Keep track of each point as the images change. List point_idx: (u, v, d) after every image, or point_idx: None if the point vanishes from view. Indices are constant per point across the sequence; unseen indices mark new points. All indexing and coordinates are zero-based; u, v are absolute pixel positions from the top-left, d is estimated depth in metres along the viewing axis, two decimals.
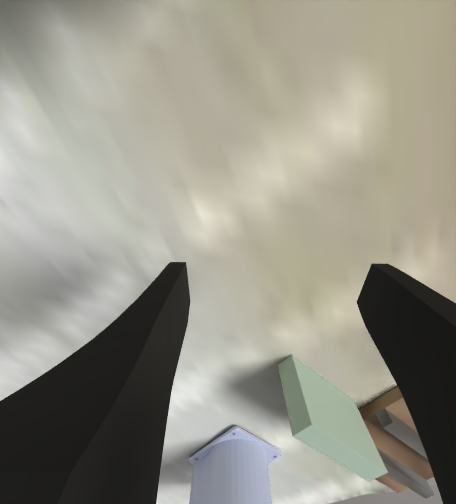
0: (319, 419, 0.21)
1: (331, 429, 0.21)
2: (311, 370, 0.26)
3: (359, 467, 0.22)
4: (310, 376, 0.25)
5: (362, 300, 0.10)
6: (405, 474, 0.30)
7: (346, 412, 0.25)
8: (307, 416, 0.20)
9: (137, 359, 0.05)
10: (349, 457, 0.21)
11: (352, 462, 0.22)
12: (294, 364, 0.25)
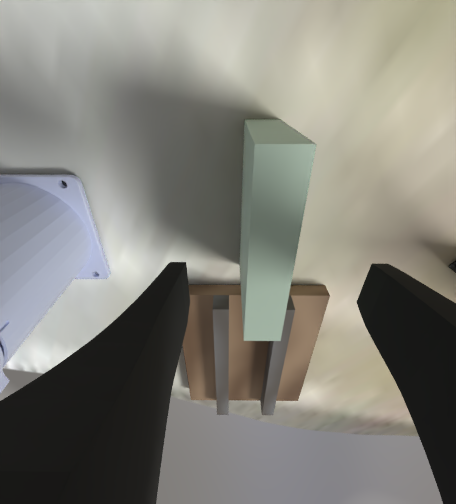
0: None
1: None
2: None
3: (262, 308, 0.12)
4: None
5: (362, 300, 0.10)
6: (228, 381, 0.24)
7: None
8: (306, 140, 0.09)
9: (137, 359, 0.05)
10: (273, 279, 0.11)
11: (265, 292, 0.12)
12: (283, 123, 0.13)
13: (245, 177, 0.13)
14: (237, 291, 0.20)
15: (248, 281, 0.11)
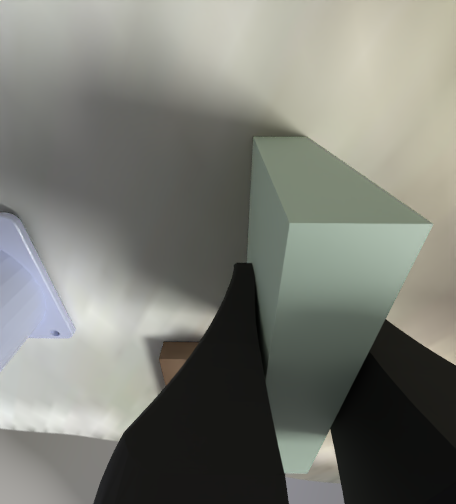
0: None
1: None
2: None
3: (283, 444, 0.08)
4: None
5: None
6: None
7: None
8: (396, 205, 0.04)
9: (261, 360, 0.05)
10: (304, 416, 0.07)
11: (290, 428, 0.07)
12: None
13: (255, 230, 0.08)
14: None
15: None
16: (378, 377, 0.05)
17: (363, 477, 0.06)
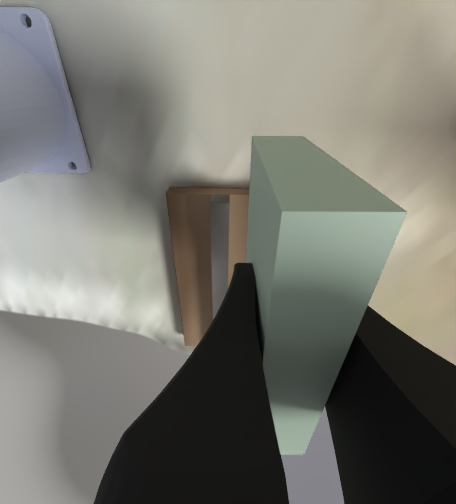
0: None
1: None
2: None
3: (280, 424, 0.08)
4: None
5: None
6: None
7: None
8: (377, 196, 0.05)
9: (261, 360, 0.05)
10: (299, 395, 0.07)
11: (286, 408, 0.08)
12: None
13: (254, 224, 0.09)
14: (239, 192, 0.17)
15: None
16: (378, 376, 0.05)
17: (363, 477, 0.06)
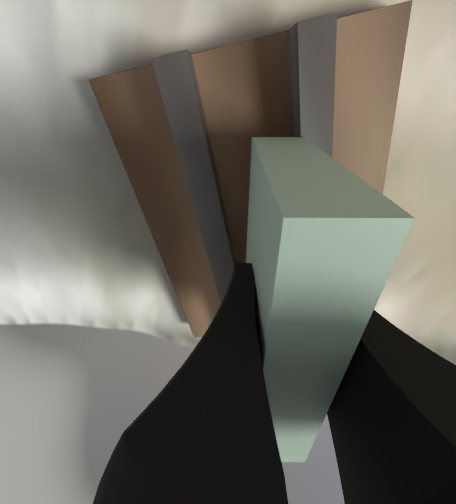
0: None
1: None
2: None
3: (280, 432, 0.08)
4: None
5: None
6: None
7: None
8: (383, 201, 0.04)
9: (260, 360, 0.05)
10: (300, 403, 0.07)
11: (287, 416, 0.07)
12: (311, 145, 0.09)
13: (254, 227, 0.09)
14: (210, 51, 0.10)
15: None
16: (378, 377, 0.05)
17: (363, 477, 0.06)
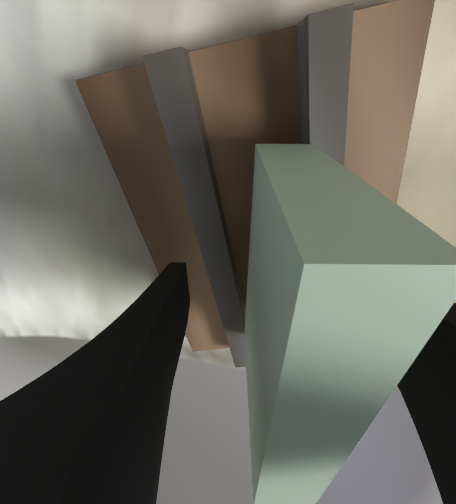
0: None
1: None
2: None
3: (288, 481, 0.07)
4: None
5: None
6: (238, 292, 0.13)
7: None
8: (427, 236, 0.03)
9: (137, 359, 0.05)
10: (313, 456, 0.06)
11: (296, 467, 0.06)
12: None
13: (258, 246, 0.08)
14: (209, 48, 0.09)
15: (266, 457, 0.06)
16: None
17: None
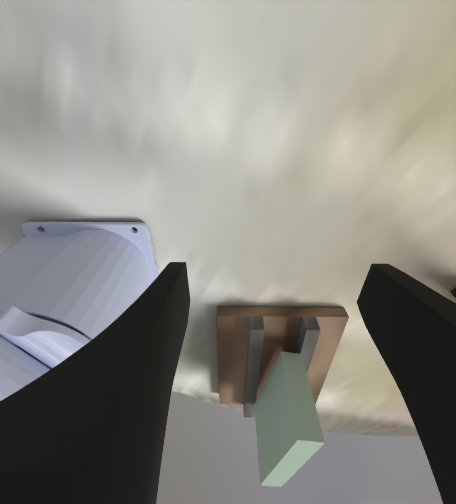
0: None
1: None
2: None
3: (277, 476, 0.22)
4: None
5: (362, 300, 0.10)
6: (256, 388, 0.27)
7: None
8: (319, 431, 0.18)
9: (137, 359, 0.05)
10: (287, 469, 0.21)
11: (281, 472, 0.21)
12: (304, 366, 0.23)
13: (278, 396, 0.22)
14: (269, 313, 0.23)
15: (274, 469, 0.21)
16: None
17: None
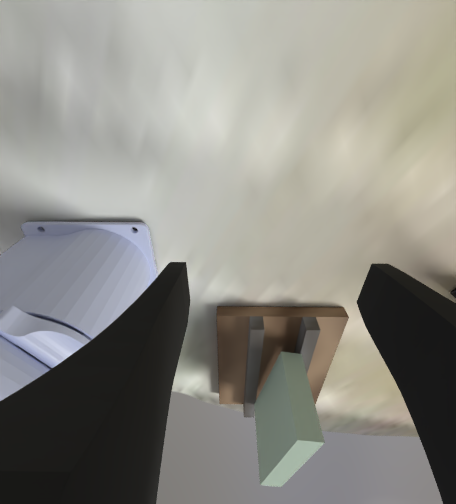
0: None
1: None
2: None
3: (276, 476, 0.22)
4: None
5: (362, 300, 0.10)
6: (256, 388, 0.27)
7: None
8: (319, 431, 0.18)
9: (137, 359, 0.05)
10: (287, 469, 0.21)
11: (281, 472, 0.21)
12: (304, 367, 0.23)
13: (278, 396, 0.22)
14: (269, 313, 0.23)
15: (274, 469, 0.21)
16: None
17: None
